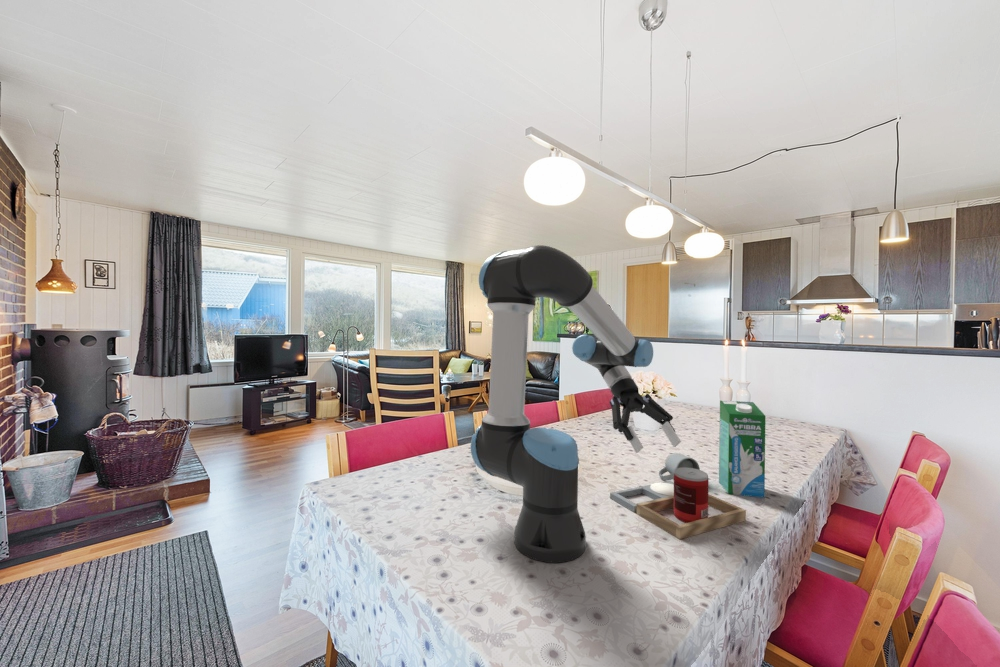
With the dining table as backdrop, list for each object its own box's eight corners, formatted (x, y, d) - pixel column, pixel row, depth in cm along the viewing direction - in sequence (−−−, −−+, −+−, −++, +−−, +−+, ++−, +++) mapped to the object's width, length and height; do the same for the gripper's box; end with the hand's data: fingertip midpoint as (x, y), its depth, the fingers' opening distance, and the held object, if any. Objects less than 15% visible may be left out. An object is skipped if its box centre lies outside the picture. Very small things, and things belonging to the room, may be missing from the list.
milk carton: (728, 494, 111) (729, 405, 111) (718, 482, 119) (719, 400, 119) (764, 497, 109) (765, 407, 108) (752, 485, 117) (753, 401, 117)
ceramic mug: (684, 473, 127) (684, 449, 127) (700, 483, 119) (700, 457, 119) (653, 475, 125) (653, 451, 125) (667, 485, 117) (667, 459, 117)
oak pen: (679, 539, 86) (679, 527, 86) (636, 513, 98) (636, 503, 98) (745, 520, 95) (745, 510, 95) (699, 499, 107) (699, 490, 107)
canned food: (703, 512, 99) (704, 468, 99) (711, 527, 92) (712, 480, 92) (671, 508, 102) (671, 465, 101) (676, 522, 94) (676, 476, 94)
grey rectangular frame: (633, 512, 99) (633, 505, 99) (610, 498, 107) (610, 492, 107) (695, 497, 108) (696, 491, 108) (669, 485, 116) (669, 480, 116)
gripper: (645, 389, 127) (684, 448, 114) (581, 394, 117) (615, 460, 103) (658, 374, 122) (700, 435, 109) (593, 378, 112) (630, 445, 99)
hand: (659, 447), depth 106 cm, fingers open, 13 cm apart
